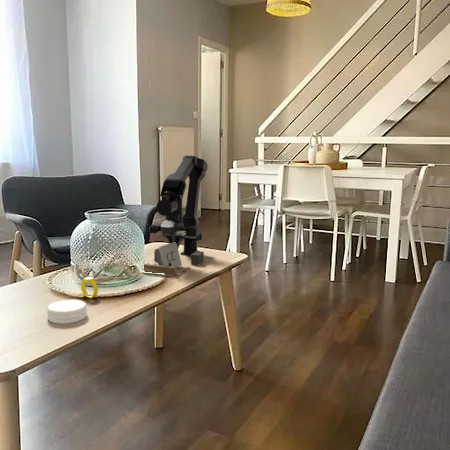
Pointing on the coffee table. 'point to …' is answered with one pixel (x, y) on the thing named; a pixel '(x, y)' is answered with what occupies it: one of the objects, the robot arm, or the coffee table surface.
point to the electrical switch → (168, 255)
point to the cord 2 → (197, 258)
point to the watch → (95, 288)
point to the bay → (162, 269)
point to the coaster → (66, 311)
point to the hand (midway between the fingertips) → (174, 252)
